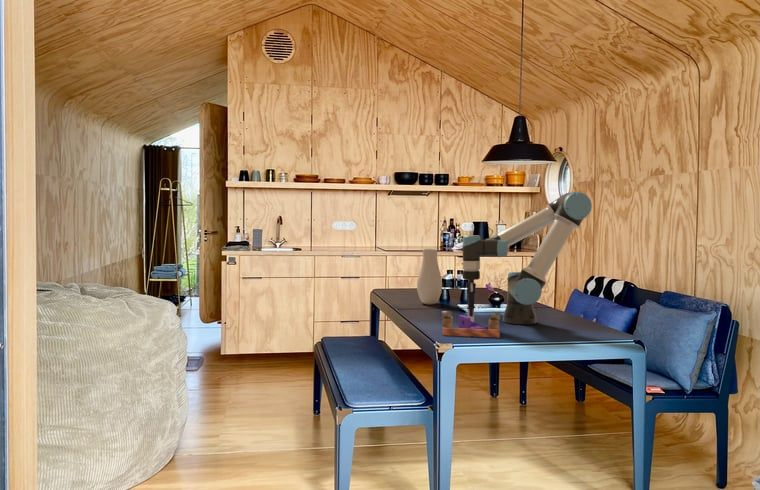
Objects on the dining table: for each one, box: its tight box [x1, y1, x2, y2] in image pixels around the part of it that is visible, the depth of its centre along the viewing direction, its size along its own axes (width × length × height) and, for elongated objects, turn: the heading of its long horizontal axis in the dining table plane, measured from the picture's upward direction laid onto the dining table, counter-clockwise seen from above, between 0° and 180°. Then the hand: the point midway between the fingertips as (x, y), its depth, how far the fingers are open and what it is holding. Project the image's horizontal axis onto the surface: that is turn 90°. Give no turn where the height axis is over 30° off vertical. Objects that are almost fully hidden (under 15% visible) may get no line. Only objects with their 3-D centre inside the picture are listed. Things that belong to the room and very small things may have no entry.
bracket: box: [457, 314, 488, 329], centre depth 259 cm, size 12×7×7 cm, turn 111°
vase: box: [416, 248, 443, 305], centre depth 334 cm, size 14×14×30 cm
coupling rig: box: [441, 310, 501, 339], centre depth 253 cm, size 24×10×9 cm, turn 83°
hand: (470, 323), depth 271 cm, fingers closed
